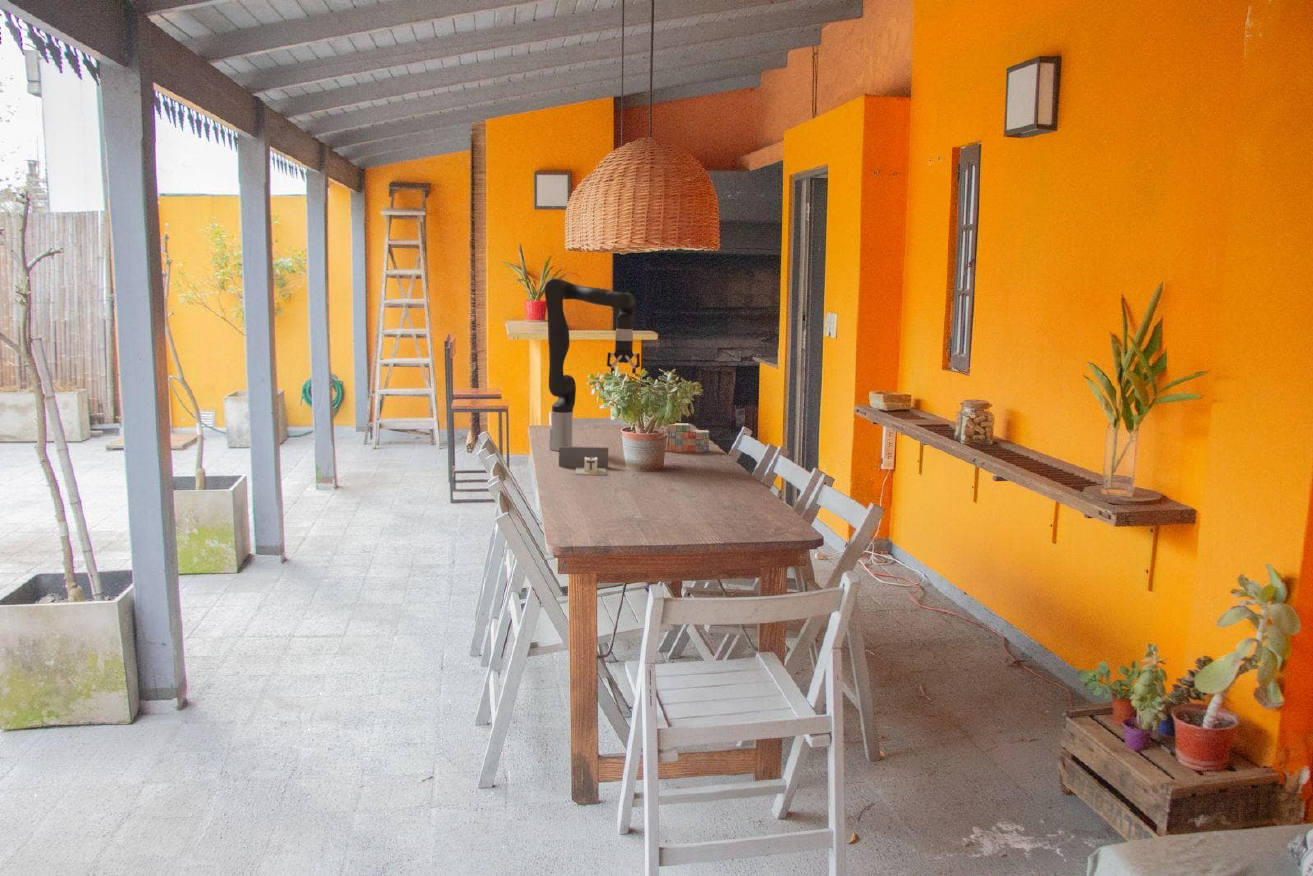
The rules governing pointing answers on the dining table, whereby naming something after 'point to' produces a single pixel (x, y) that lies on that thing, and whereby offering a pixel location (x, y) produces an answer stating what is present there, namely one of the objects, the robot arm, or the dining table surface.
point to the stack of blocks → (687, 439)
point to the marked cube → (590, 464)
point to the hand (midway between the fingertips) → (623, 376)
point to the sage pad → (581, 472)
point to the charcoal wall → (582, 456)
